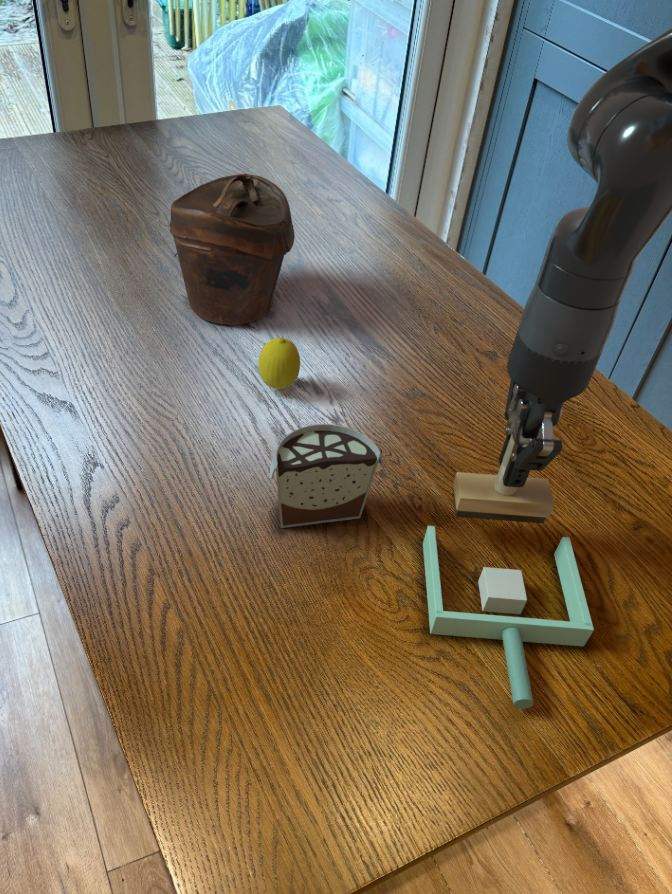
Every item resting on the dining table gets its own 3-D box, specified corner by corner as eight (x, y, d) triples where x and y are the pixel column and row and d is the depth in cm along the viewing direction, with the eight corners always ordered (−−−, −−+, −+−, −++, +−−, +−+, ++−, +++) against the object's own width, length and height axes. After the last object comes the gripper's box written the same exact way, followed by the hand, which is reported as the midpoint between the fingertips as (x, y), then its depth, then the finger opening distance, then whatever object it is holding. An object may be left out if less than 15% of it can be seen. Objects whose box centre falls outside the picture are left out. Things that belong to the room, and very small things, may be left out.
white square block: (477, 581, 81) (483, 566, 79) (514, 584, 81) (521, 569, 79) (482, 611, 78) (488, 597, 76) (520, 614, 78) (527, 600, 76)
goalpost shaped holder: (422, 543, 84) (427, 525, 82) (560, 554, 84) (569, 537, 82) (436, 705, 70) (442, 688, 68) (601, 718, 70) (613, 703, 68)
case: (267, 264, 125) (271, 153, 112) (306, 330, 112) (316, 213, 99) (161, 276, 121) (153, 162, 108) (189, 346, 108) (183, 226, 95)
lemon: (285, 406, 100) (288, 356, 94) (250, 391, 101) (251, 341, 95) (305, 385, 103) (310, 335, 97) (270, 371, 105) (273, 321, 99)
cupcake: (357, 479, 91) (369, 415, 83) (372, 516, 87) (385, 452, 79) (257, 491, 88) (260, 426, 81) (268, 529, 84) (271, 464, 77)
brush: (450, 492, 84) (471, 422, 77) (539, 499, 84) (568, 429, 77) (453, 518, 81) (475, 448, 74) (545, 525, 81) (576, 456, 74)
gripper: (623, 384, 61) (558, 526, 74) (587, 295, 71) (535, 434, 84) (532, 378, 62) (482, 520, 74) (508, 289, 71) (467, 428, 84)
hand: (510, 473), depth 79 cm, fingers closed on brush, 2 cm apart
